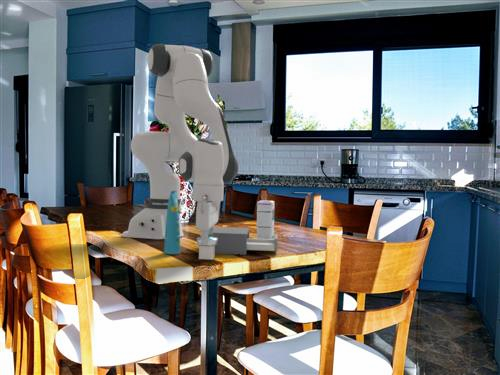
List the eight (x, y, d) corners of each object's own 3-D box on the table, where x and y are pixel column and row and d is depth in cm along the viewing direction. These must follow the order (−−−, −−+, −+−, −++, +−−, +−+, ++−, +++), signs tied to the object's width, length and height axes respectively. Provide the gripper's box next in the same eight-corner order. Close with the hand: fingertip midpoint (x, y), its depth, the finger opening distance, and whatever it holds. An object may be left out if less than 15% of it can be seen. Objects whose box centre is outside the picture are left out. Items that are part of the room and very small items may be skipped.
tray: (235, 249, 141) (235, 237, 141) (238, 243, 152) (238, 232, 152) (277, 250, 140) (277, 238, 140) (277, 244, 151) (277, 233, 151)
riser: (198, 259, 131) (199, 245, 131) (201, 256, 135) (201, 242, 135) (212, 259, 131) (213, 245, 131) (214, 256, 135) (214, 243, 135)
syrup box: (271, 241, 167) (273, 201, 166) (255, 240, 168) (257, 201, 167) (274, 238, 172) (275, 200, 171) (258, 238, 173) (259, 199, 173)
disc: (195, 245, 130) (195, 238, 130) (198, 242, 136) (198, 235, 136) (216, 246, 130) (216, 239, 130) (218, 243, 136) (218, 236, 135)
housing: (200, 253, 140) (201, 232, 140) (207, 245, 154) (208, 226, 154) (246, 254, 139) (246, 234, 139) (248, 246, 153) (249, 228, 153)
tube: (178, 255, 135) (180, 191, 134) (162, 255, 135) (163, 190, 134) (181, 251, 143) (182, 189, 142) (165, 250, 142) (166, 189, 141)
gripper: (214, 197, 121) (212, 248, 122) (223, 193, 142) (222, 237, 142) (190, 196, 122) (189, 247, 122) (203, 192, 142) (202, 236, 143)
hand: (207, 242), depth 133 cm, fingers open, 8 cm apart
